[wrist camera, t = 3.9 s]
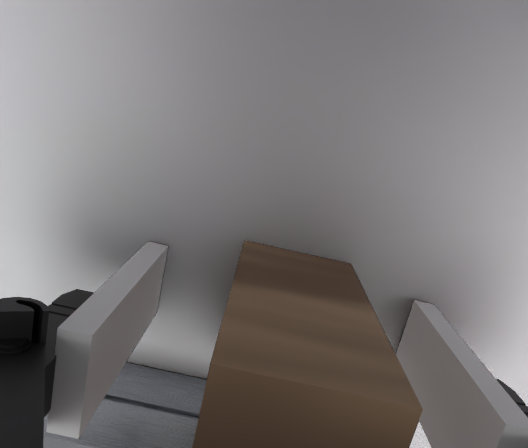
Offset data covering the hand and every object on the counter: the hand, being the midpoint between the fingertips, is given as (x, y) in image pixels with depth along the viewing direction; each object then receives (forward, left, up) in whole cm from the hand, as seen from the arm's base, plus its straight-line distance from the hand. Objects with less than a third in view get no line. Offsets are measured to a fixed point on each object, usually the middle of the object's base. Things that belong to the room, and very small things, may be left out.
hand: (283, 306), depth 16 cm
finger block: (0, 0, 0) cm, 0 cm away
